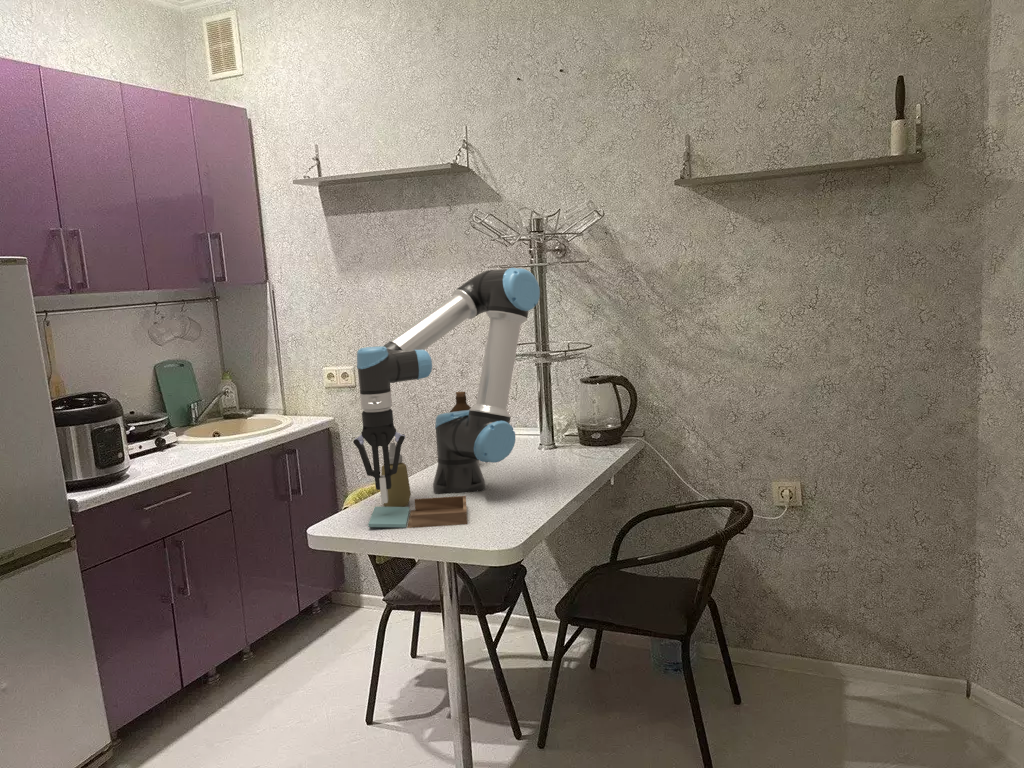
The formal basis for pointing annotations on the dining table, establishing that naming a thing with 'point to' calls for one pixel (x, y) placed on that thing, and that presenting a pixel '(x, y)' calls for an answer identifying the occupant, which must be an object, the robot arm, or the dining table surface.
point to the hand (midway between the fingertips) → (384, 501)
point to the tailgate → (389, 517)
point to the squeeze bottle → (397, 482)
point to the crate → (438, 512)
